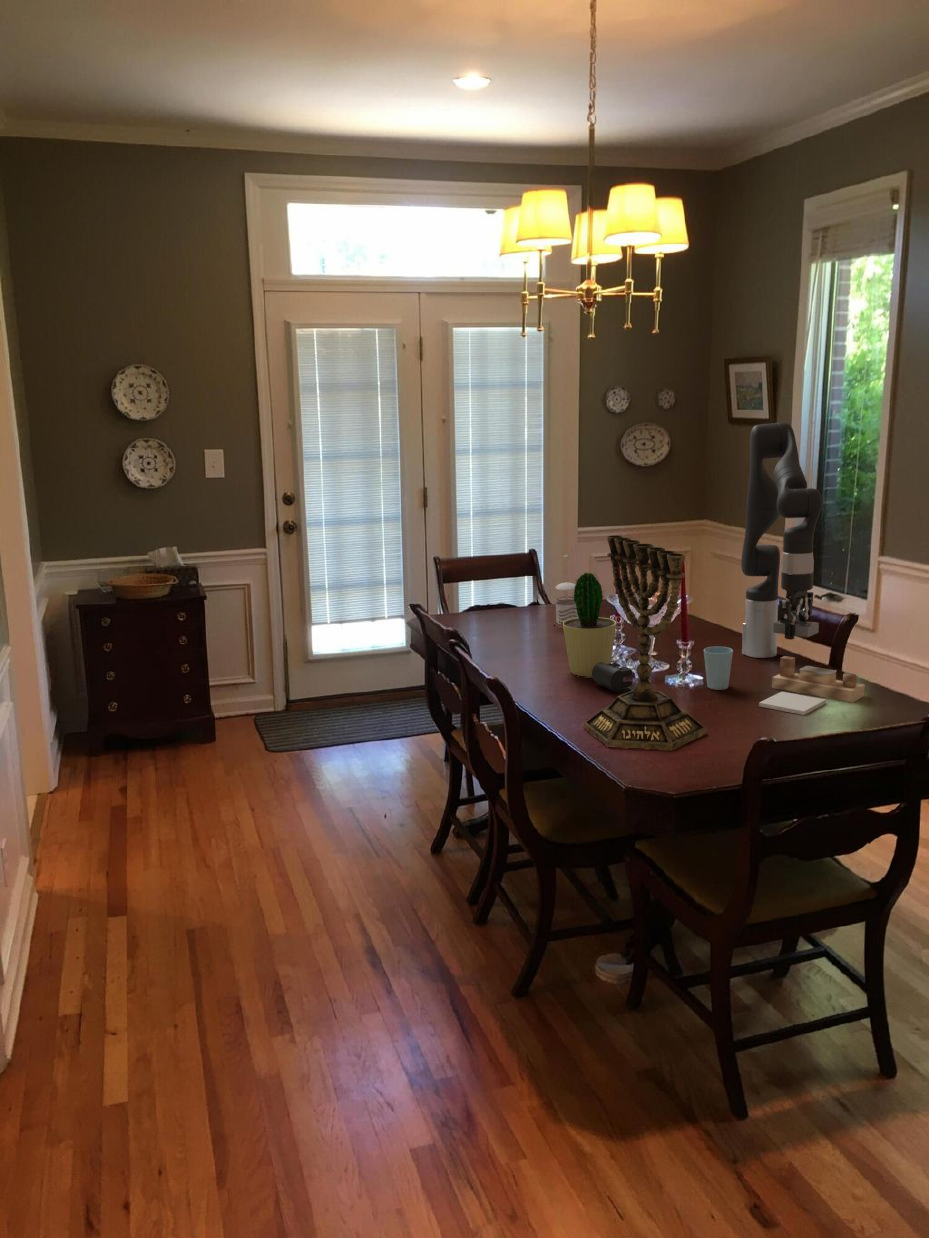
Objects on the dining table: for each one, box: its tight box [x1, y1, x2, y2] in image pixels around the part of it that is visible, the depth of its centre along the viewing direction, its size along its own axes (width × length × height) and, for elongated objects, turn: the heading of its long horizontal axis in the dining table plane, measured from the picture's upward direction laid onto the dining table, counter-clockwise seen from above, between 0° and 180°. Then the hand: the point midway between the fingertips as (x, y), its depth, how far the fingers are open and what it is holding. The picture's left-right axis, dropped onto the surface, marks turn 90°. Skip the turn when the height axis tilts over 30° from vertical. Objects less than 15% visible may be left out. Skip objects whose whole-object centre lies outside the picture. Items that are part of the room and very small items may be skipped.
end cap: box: [591, 662, 633, 694], centre depth 274 cm, size 10×7×7 cm
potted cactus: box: [563, 572, 617, 678], centre depth 289 cm, size 15×15×30 cm
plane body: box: [771, 655, 866, 703], centre depth 264 cm, size 22×7×8 cm, turn 46°
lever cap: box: [773, 617, 820, 638], centre depth 250 cm, size 9×6×3 cm, turn 46°
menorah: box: [583, 534, 708, 751], centre depth 235 cm, size 36×25×45 cm
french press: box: [554, 554, 579, 624], centre depth 349 cm, size 10×12×25 cm
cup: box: [703, 646, 734, 691], centre depth 271 cm, size 8×8×10 cm
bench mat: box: [758, 691, 827, 716], centre depth 255 cm, size 12×12×1 cm
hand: (795, 636), depth 251 cm, fingers closed on lever cap, 6 cm apart
